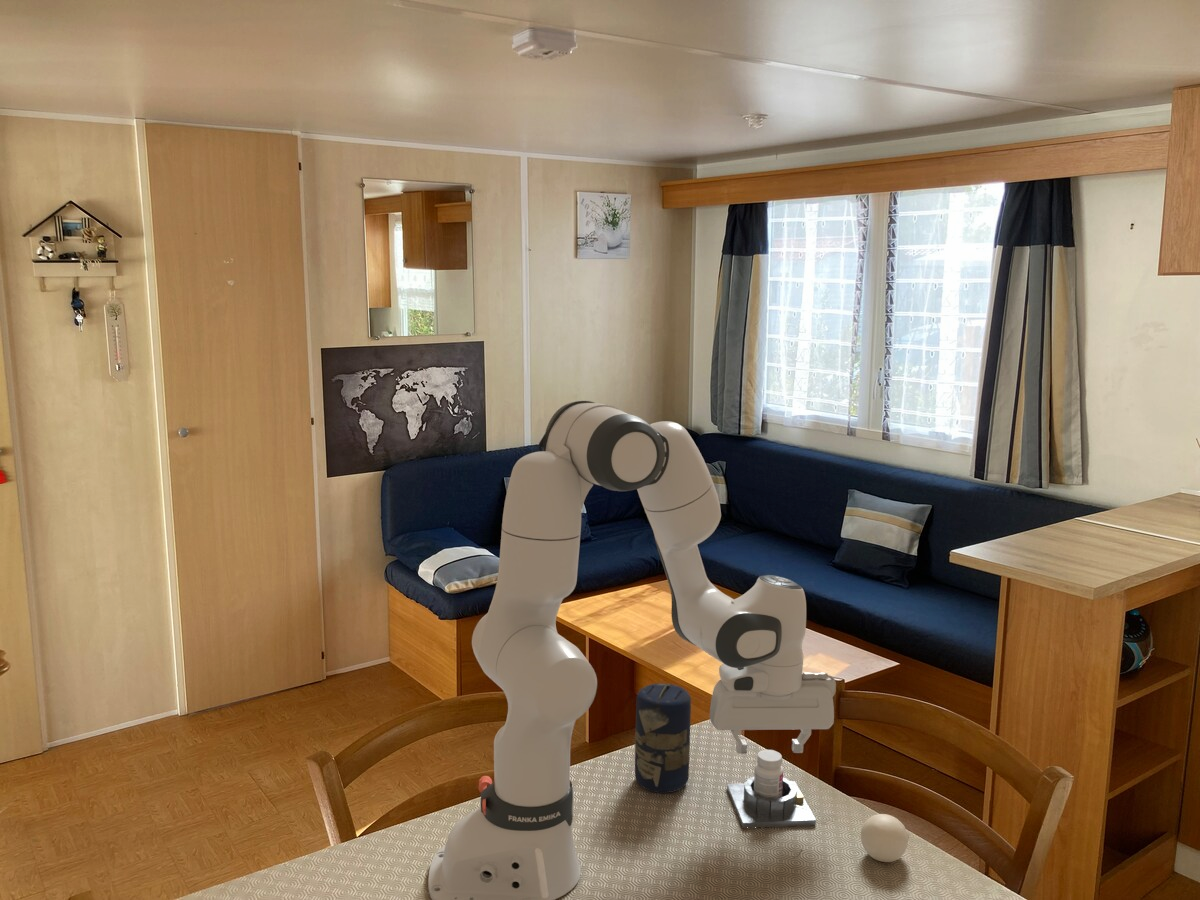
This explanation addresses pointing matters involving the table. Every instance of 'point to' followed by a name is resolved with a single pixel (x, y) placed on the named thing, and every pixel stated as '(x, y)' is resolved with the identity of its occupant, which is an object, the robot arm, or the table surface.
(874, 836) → the beige sphere
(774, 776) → the pill bottle
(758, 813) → the lock socket
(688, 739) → the canister
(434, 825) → the table surface
